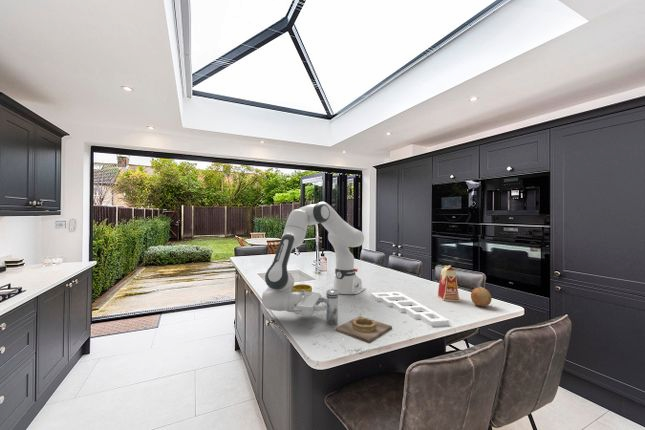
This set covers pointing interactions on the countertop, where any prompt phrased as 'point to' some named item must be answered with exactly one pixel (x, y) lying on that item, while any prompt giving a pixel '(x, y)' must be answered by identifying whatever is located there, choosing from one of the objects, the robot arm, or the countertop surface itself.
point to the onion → (481, 296)
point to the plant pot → (302, 288)
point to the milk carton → (448, 285)
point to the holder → (410, 307)
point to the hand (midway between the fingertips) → (327, 304)
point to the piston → (332, 307)
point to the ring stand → (364, 328)
